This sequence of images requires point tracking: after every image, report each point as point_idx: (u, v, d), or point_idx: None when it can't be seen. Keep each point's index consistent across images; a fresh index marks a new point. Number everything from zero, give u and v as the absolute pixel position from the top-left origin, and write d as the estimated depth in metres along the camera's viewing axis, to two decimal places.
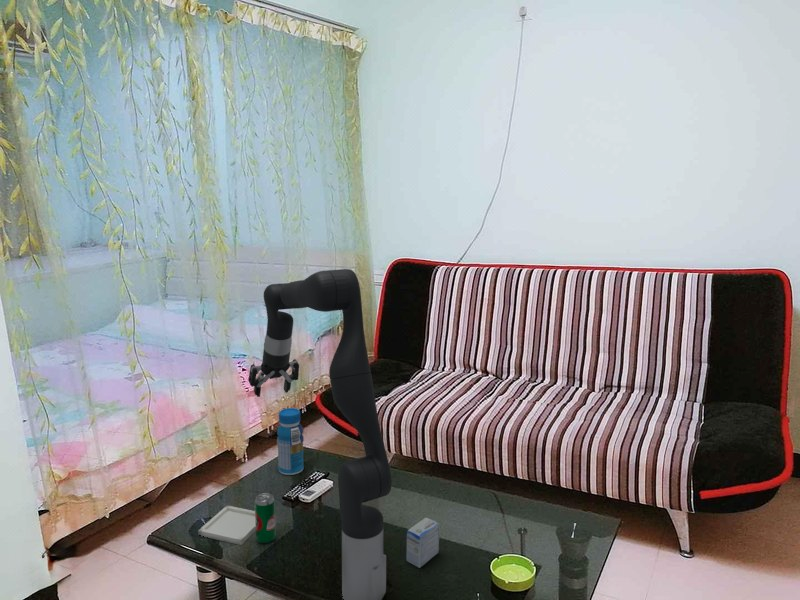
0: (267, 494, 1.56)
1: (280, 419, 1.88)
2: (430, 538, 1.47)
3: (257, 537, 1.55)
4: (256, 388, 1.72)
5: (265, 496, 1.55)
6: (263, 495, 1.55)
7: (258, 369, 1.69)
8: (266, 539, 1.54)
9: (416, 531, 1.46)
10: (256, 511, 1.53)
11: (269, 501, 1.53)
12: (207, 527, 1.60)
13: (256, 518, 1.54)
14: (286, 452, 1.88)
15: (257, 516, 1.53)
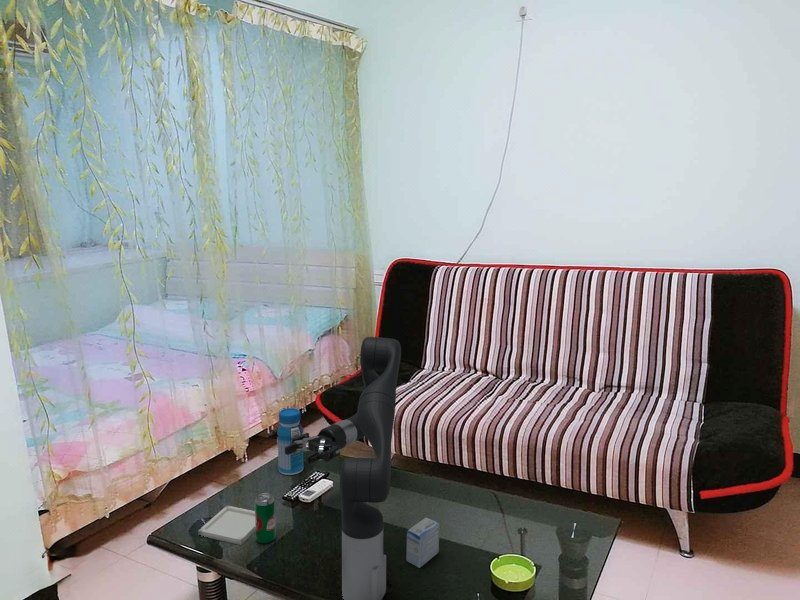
0: (267, 494, 1.56)
1: (280, 419, 1.88)
2: (430, 538, 1.47)
3: (257, 537, 1.55)
4: None
5: (265, 496, 1.55)
6: (263, 495, 1.55)
7: (309, 437, 1.72)
8: (266, 539, 1.54)
9: (416, 531, 1.46)
10: (256, 511, 1.53)
11: (269, 501, 1.53)
12: (207, 527, 1.60)
13: (256, 518, 1.54)
14: None
15: (257, 516, 1.53)
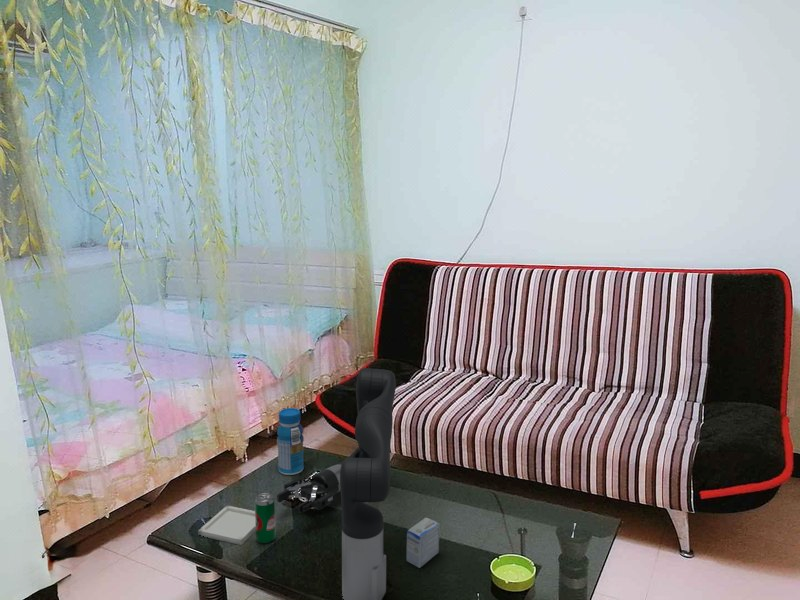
0: (267, 494, 1.56)
1: (280, 419, 1.88)
2: (430, 538, 1.47)
3: (257, 537, 1.55)
4: None
5: (265, 496, 1.55)
6: (263, 495, 1.55)
7: (301, 483, 1.72)
8: (266, 539, 1.54)
9: (416, 531, 1.46)
10: (256, 511, 1.53)
11: (269, 501, 1.53)
12: (207, 527, 1.60)
13: (256, 518, 1.54)
14: (286, 452, 1.88)
15: (257, 516, 1.53)
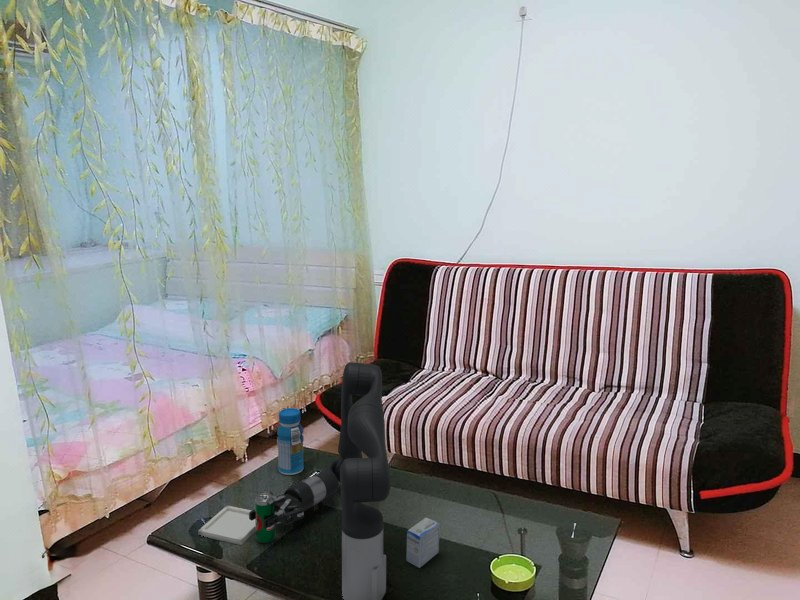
0: (267, 494, 1.56)
1: (280, 419, 1.88)
2: (430, 538, 1.47)
3: (257, 537, 1.55)
4: None
5: (265, 496, 1.55)
6: (263, 495, 1.55)
7: (274, 497, 1.64)
8: (266, 539, 1.54)
9: (416, 531, 1.46)
10: (256, 511, 1.53)
11: (269, 501, 1.53)
12: (207, 527, 1.60)
13: (256, 518, 1.54)
14: (286, 452, 1.88)
15: (257, 516, 1.53)
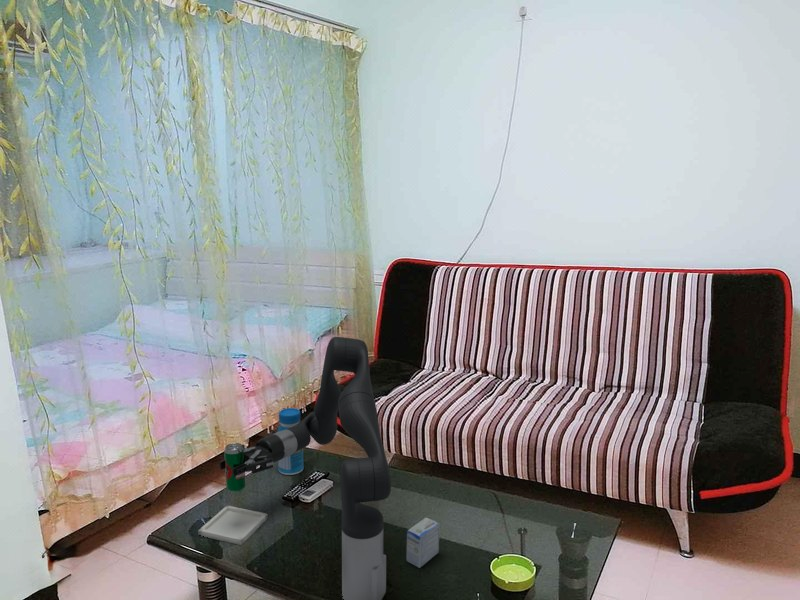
0: (237, 444, 1.59)
1: (280, 419, 1.88)
2: (430, 538, 1.47)
3: (227, 485, 1.58)
4: None
5: (234, 445, 1.58)
6: (233, 445, 1.58)
7: (245, 448, 1.67)
8: (236, 487, 1.57)
9: (416, 531, 1.46)
10: (225, 460, 1.56)
11: (238, 450, 1.56)
12: (207, 527, 1.60)
13: (226, 467, 1.57)
14: None
15: (227, 465, 1.56)
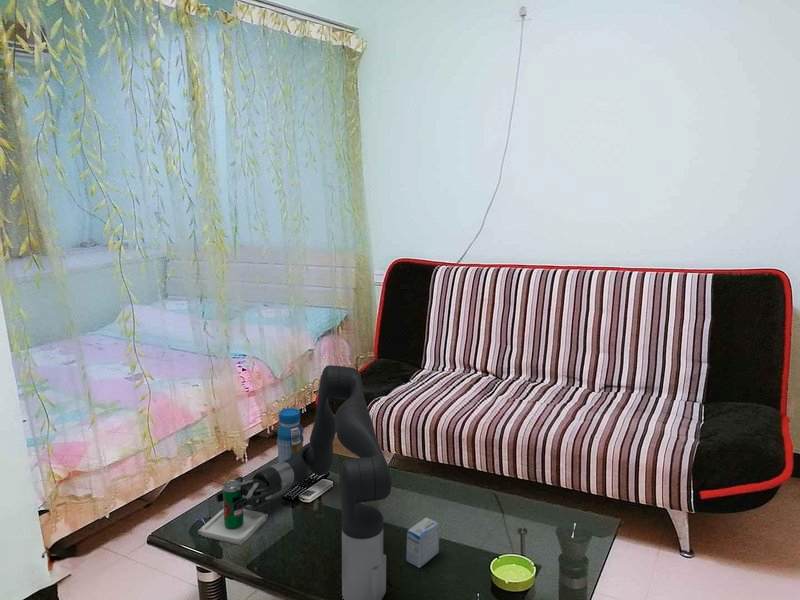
0: (235, 481, 1.61)
1: (280, 419, 1.88)
2: (430, 538, 1.47)
3: (225, 523, 1.60)
4: None
5: (233, 483, 1.60)
6: (231, 482, 1.60)
7: (243, 481, 1.69)
8: (234, 524, 1.59)
9: (416, 531, 1.46)
10: (224, 497, 1.58)
11: (236, 488, 1.58)
12: (207, 527, 1.60)
13: (224, 504, 1.59)
14: (286, 452, 1.88)
15: (225, 503, 1.58)
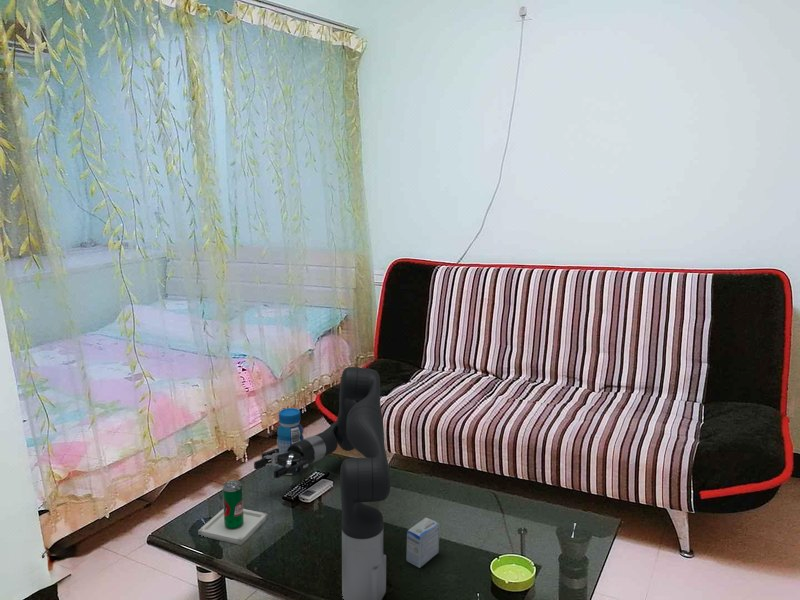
0: (235, 481, 1.61)
1: (280, 419, 1.88)
2: (430, 538, 1.47)
3: (225, 522, 1.60)
4: None
5: (233, 483, 1.60)
6: (231, 482, 1.60)
7: (279, 452, 1.78)
8: (234, 524, 1.59)
9: (416, 531, 1.46)
10: (224, 497, 1.58)
11: (236, 487, 1.58)
12: (207, 527, 1.60)
13: (224, 504, 1.59)
14: None
15: (225, 502, 1.58)
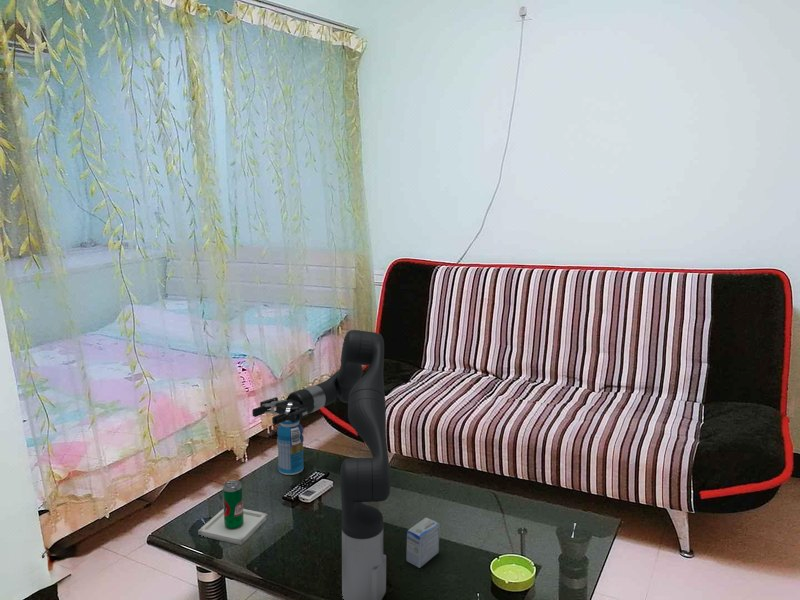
0: (235, 481, 1.61)
1: None
2: (430, 538, 1.47)
3: (225, 522, 1.60)
4: (260, 407, 1.70)
5: (233, 483, 1.60)
6: (231, 482, 1.60)
7: None
8: (234, 524, 1.59)
9: (416, 531, 1.46)
10: (224, 497, 1.58)
11: (236, 487, 1.58)
12: (207, 527, 1.60)
13: (224, 504, 1.59)
14: (286, 452, 1.88)
15: (225, 502, 1.58)
